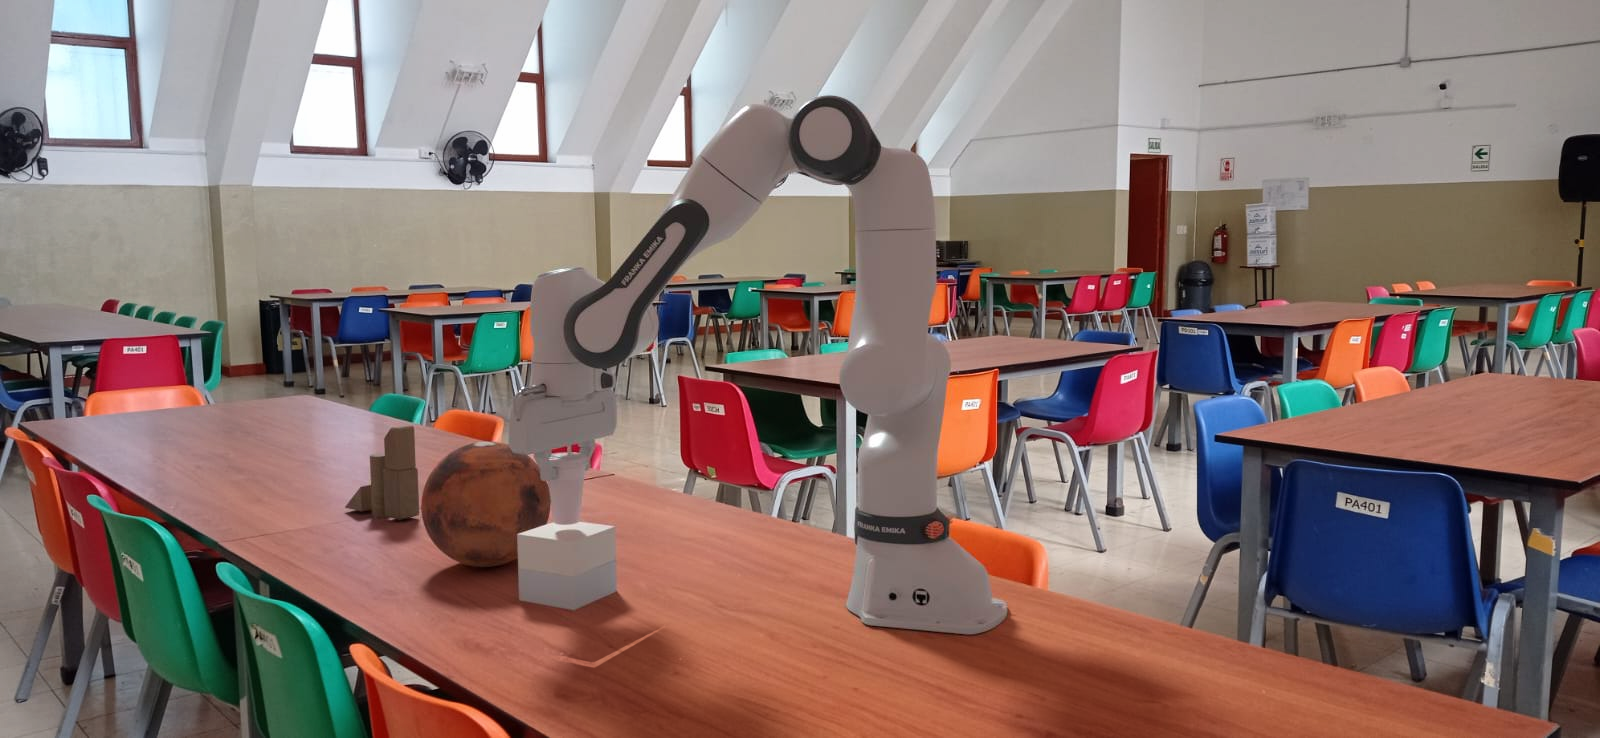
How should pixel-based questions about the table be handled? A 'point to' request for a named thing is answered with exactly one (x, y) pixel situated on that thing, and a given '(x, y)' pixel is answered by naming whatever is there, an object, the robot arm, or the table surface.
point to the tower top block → (566, 548)
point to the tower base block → (567, 586)
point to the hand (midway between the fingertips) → (565, 475)
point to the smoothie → (567, 486)
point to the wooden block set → (391, 478)
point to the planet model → (483, 503)
